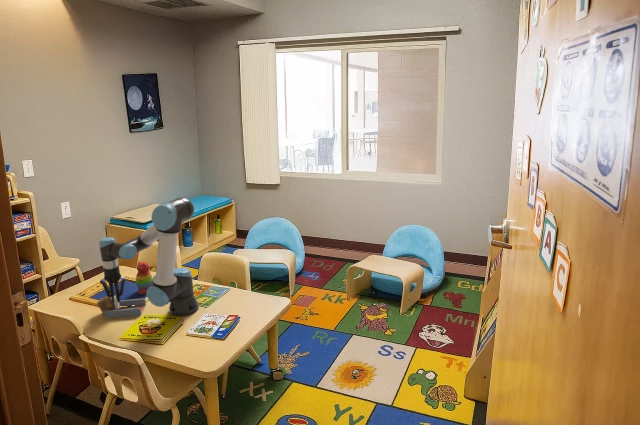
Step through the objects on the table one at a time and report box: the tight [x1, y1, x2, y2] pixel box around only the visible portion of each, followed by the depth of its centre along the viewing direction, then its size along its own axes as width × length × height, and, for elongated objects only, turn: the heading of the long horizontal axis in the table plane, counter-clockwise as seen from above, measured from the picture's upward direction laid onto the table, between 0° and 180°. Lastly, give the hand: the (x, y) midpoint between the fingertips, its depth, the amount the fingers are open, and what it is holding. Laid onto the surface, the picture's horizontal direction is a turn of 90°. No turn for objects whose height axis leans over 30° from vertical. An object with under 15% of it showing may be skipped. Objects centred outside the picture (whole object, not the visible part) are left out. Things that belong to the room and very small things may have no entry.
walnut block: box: [96, 295, 117, 317], centre depth 246 cm, size 6×6×8 cm
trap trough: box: [103, 297, 147, 320], centre depth 248 cm, size 18×12×4 cm
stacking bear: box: [135, 261, 153, 295], centre depth 271 cm, size 11×10×18 cm
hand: (117, 307), depth 247 cm, fingers closed
